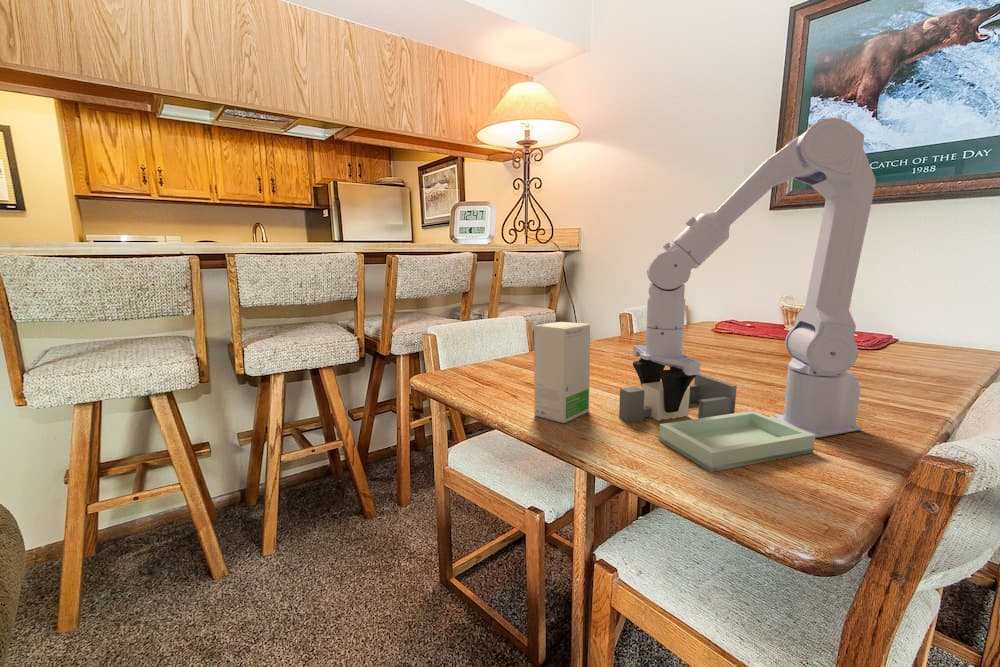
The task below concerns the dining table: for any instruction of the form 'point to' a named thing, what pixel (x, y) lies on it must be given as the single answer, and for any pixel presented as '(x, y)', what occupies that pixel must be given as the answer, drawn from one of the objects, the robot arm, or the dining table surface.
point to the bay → (712, 396)
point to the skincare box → (561, 370)
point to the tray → (735, 440)
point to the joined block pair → (648, 403)
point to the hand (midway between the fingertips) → (660, 406)
